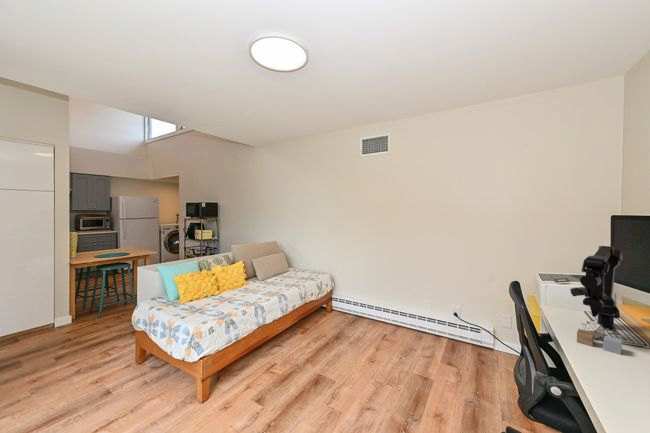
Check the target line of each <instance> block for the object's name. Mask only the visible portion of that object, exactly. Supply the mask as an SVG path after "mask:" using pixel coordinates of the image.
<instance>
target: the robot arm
mask: <svg viewBox="0 0 650 433" xmlns="http://www.w3.org/2000/svg"><path fill="white" fill-rule="evenodd" d="M623 256H624V255H623V254H622V252H621V251H620V250H618V249H615V247H614V246H610V245H609V246H606V245H599V246H598V248H597V251H596V252H595V253H594V254H593V255H588V256H586V258H585V259H583V262H582V268H581V272H582V273H585V274H584V275H583V276H581V277H580V280H579V282H580V284H581V285H582V286H581V287H572V288H570V289H569V291H570V294H571V295H572V297H578V296H579V297H581V296H584V298H583V300H582V305H584V306H588V307H589V308H590V312H591V315H592V317H593V318H594V317H595V318H596V317H597V322H596V323H598V324H600V325H601V324H603V325H602V327H603V328H606V329H605V330H610V331H611V330H612V331H615V329H616V325H615V324H614V323H615V319H616V320H617V319H620V318H621V313H620V309H619V307H618V306H617V302H616V300H615V299H614V298H613V295H614V294H613V292H614V285H615V283H614V282H615V274H616V273H615V272H616V269H617V268H618V267H620V265H621V262H623Z"/></svg>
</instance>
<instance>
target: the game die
mask: <svg viewBox="0 0 650 433" xmlns="http://www.w3.org/2000/svg"><path fill="white" fill-rule="evenodd" d="M581 325H583V330H586V331H590V332H594V341H596V339H597V338H600V339H602V337H605V335H606V336H608V335H607V334H606V332H605V331H606V330H607V329H606V328H603V327H602V325H603V324H601V325H600V324H598V323H597V322H596V320H595V319H592V320H591V321H588V320H586V323H583V322H582V323H581Z"/></svg>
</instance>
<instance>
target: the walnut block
mask: <svg viewBox="0 0 650 433" xmlns="http://www.w3.org/2000/svg"><path fill="white" fill-rule="evenodd" d="M594 341H595V340H594V332H590V331H586V330H584V329H582V328H578V329H577V331H576V343H578V344H582V345H585V346H588V347H590V348H591V347H593V345H594V343H595V342H594Z"/></svg>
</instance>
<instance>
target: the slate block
mask: <svg viewBox="0 0 650 433" xmlns="http://www.w3.org/2000/svg"><path fill="white" fill-rule="evenodd" d="M606 335H607V334H605V336H603V351H605V352H609V353H613V354H616V355H620V356H621V355H622V349H623V348H622V347H623V344H622V343H623V340H622V339H621V338H617V337H613V336H609V335H607V336H606Z"/></svg>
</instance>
